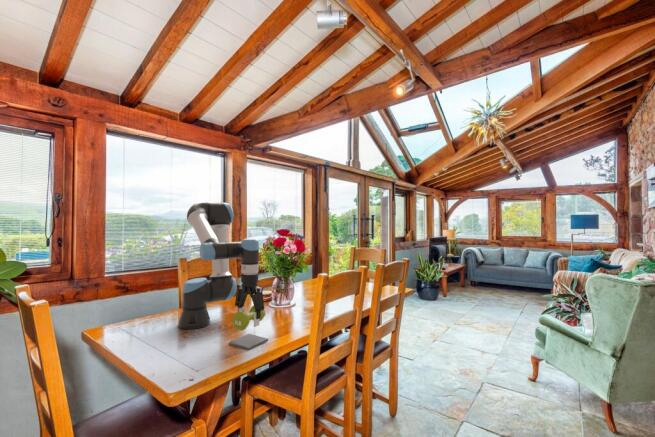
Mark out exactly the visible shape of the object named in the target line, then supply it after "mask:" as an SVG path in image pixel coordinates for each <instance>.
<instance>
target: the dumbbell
mask: <svg viewBox="0 0 655 437" xmlns="http://www.w3.org/2000/svg"><path fill="white" fill-rule="evenodd" d="M254 311H255V307H254V304H253V305H252V306H251V307H250V309H249V311H248V313H246V312H245V313H244V312H238V311H237V312H235V314H234V315H233V317H232V318H231V323H232V326H233V327H234V329H235V330H237V331H244V330H246V329H247V328H248V326H249V324H250V321H253V322H254ZM265 316H266V310H265V309H264V310H262V311H261V317H260V320H259V322H261V321H262V320H263V319H264V318H265Z"/></svg>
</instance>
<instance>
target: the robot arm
mask: <svg viewBox="0 0 655 437" xmlns="http://www.w3.org/2000/svg"><path fill="white" fill-rule="evenodd" d="M234 217H235V215H234V210H233V207H232V205H231V204H229V203H228V202H219V201H217V202H216V201H199V202H196V203H194V204H193V205H191V206H190V207H189V209H188V211H187V213H186V220H187V222H188V224H189V225H190V226H192V227H193V230H194V232H195V233H196V236H197V238H198V239H199V242H200V245H199V256H200V259H201V260H203V261H211V263H212V264H211V265H212V273H211V275H209V279H207V277H196V278H192V279H189V280H185V282H183V284H182V291H181V292H182V308H181V309H182V310H181V313H180V317H179V319H178V328H180V329H183V330H184V329H185V330H196V329H201V328H204V327H206V326H208V325H210V324H211V318H210V315H209V311H208V309H207V308H208V303H213V302H214V303H215V302H220V301H227V300H231V299H233V298H234V296H235V302H234V306H235V307H237V310H238V311H237V312H244V313H246V309H245V303H246V301H247V298H248V295H249V297H250V298H251V300H252V303H253V305H254V307H255V311H254V321H253V327H258V326H260V321H259V320H260V317H261V311H262V310H265V302H264V294H263V292H264V291H263V290H264V288H263V286H261V287H259V285H258V282H259V274H258V273H259V255H260V252H259V251H260V246H259V245H260V244H259V240H258V239H257V238H243V239H242V240H240V241H230V242H229V237H228V234H229V233H228V229H229V228H230V226H231V224H232V223H233V222H234ZM230 259H241V262H240V263H241V264H240V266H241V269H240V270H241V272H240V273H241V274H240V282H241V283H240V284H237V281H236V278H235V277H233V274H232V273H231V272H230V263H229V260H230ZM235 294H236V295H235Z"/></svg>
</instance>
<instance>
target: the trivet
mask: <svg viewBox="0 0 655 437" xmlns="http://www.w3.org/2000/svg"><path fill="white" fill-rule="evenodd" d="M268 341H269V338H266V337H263V336H259V335H255V334H252V333H247V334H244V335H242V336H240V337H237V338H234V339H233V340H230V341H229V342H228V344H229V345H231V346H235V347H237V348H240V349H244V350H247V351H250V350H253V349H254V348H256V347H258V346H261V345H262V344H265V343H267V342H268Z"/></svg>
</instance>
